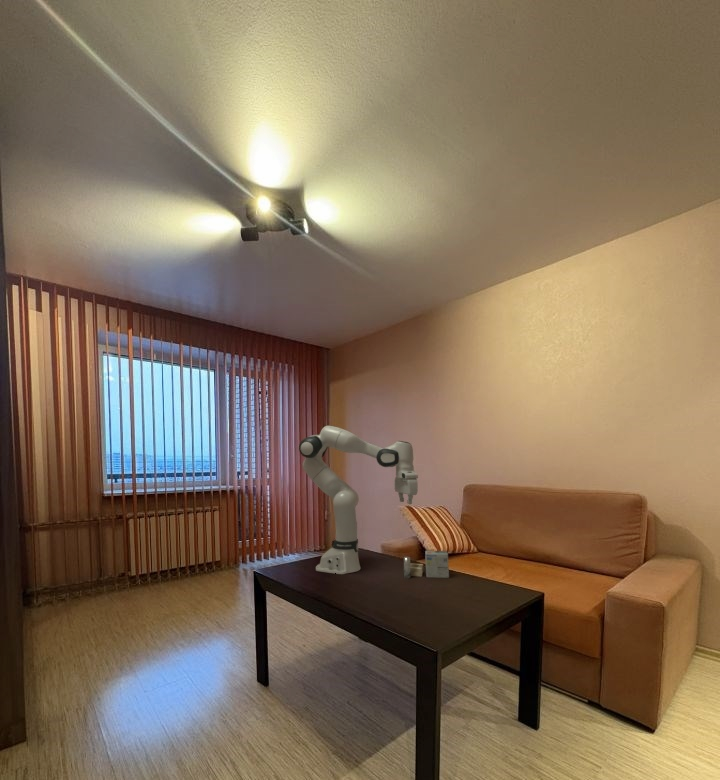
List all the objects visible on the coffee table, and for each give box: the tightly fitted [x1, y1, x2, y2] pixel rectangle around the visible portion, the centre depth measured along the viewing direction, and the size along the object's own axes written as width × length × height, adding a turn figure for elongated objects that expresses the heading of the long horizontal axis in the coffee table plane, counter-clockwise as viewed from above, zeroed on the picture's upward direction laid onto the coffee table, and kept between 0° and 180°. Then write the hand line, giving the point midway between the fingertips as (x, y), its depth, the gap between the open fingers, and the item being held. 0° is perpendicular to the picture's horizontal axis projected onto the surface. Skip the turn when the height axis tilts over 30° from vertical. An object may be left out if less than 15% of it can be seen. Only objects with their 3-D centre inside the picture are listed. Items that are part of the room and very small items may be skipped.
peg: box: [403, 556, 412, 579], centre depth 189 cm, size 3×3×9 cm
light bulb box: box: [424, 550, 450, 579], centre depth 192 cm, size 11×7×11 cm, turn 84°
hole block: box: [410, 562, 424, 577], centre depth 195 cm, size 8×8×4 cm
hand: (405, 502), depth 197 cm, fingers open, 8 cm apart
